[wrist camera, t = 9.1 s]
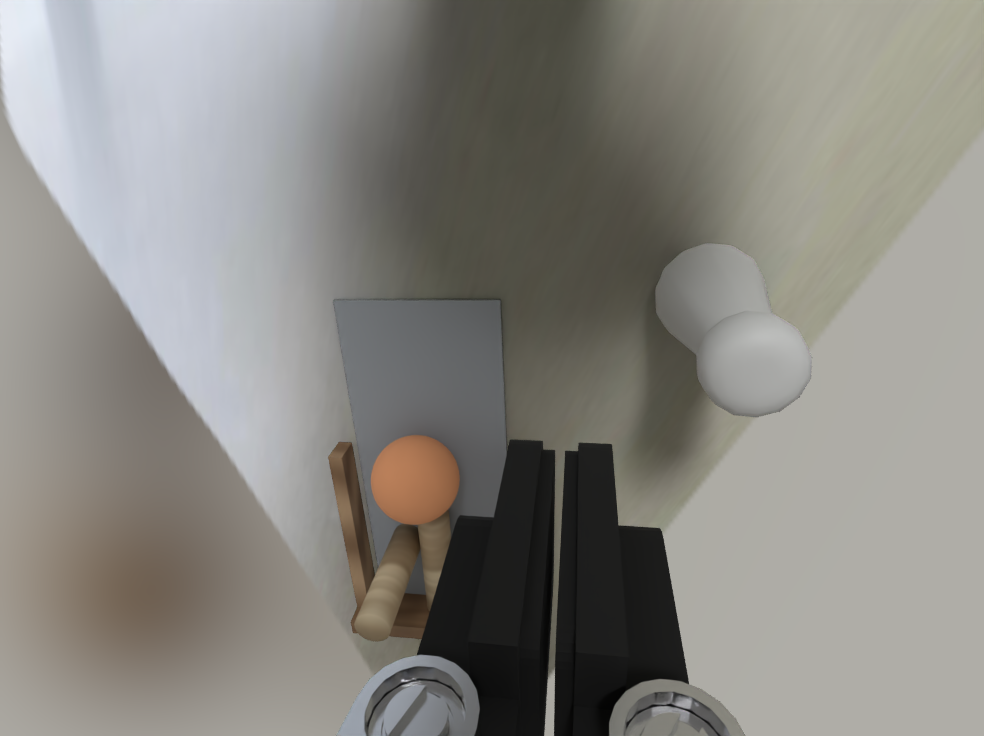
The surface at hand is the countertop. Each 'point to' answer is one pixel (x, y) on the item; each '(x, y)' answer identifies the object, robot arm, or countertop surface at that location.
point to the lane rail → (367, 546)
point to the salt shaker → (732, 330)
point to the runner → (427, 394)
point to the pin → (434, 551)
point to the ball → (415, 479)
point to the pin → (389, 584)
